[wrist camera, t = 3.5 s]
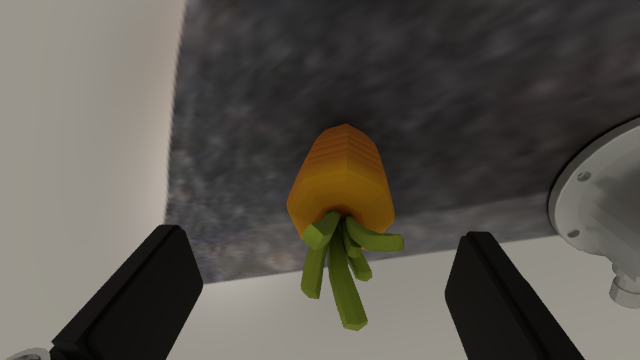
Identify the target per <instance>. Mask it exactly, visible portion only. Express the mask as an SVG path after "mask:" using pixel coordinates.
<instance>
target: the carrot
mask: <svg viewBox="0 0 640 360" xmlns="http://www.w3.org/2000/svg"><path fill="white" fill-rule="evenodd" d="M287 209H288V212H289V214H290V216H291V218H292V220H293V223H294V225H295V227H296V229H297V231H298V233H299V236H300V238H301V239H302V240H303V241H304V242H305V243H306V244H307V245H308V246H309V247H310V248H309V250H308V253H307V257H306V261H305V265H304V269H303V276H302V281H301V289H302V291H303V292H304V293H305V294H306V295H307V296H308V297H309V298H314V299H319V296H320V290H321V283H322V276H323V268H324V260H325V257H326V253H327V257H328V269H329V279H330V283H331V286H332V290H333V294H334V298H335V302H336V306H337V309H338V311H339V315H340V318H341V320H342V324H343V327H345V328H347V329H351V330H356V331H358V330H360V329H361V328H362V327H363V326H365V325H366V324H367V321H368V320H367V317H366V314H365V311H364V308H363V306H362V303H361V300H360V297H359V294H358V292H357V289H356V287H355V284H354V281H353V279H352V276H351V273H350V271H349V268H348V263H349V265H350V267H351V269H352V271H353V273H354V275H355V278H356V279H358V280H361V281H368V280H369V279H370V278H372V272H371V269H370V267H369V265H368V263H367V262H366V260H365V258H364V256H363V254H362V252H361V250H363V249H367V250H373V251H385V252H388V251H400V250H402V249H404V241H403V239H402V236H401V234H384V232H385V231H386V230H387V229H388V228H389V226H390V225H391V224H392V223H393V222H394V218H395V212H394V207H393V203H392V199H391V195H390V190H389V186H388V182H387V178H386V174H385V171H384V168H383V164H382V161H381V158H380V155H379V153H378V150H377V148H376V145H375V144H374V143H373V141H372V140H371V139H370V138H369V137H368V136H367V135H366V134H365V133H364V132H362V131H360V130H358V129H356V128H354V127H352V126H350V125H349V124H347V123H346V124H343V125H339V126H336V127H332V128H329V129H326V130H325V131H324V132H322V133H321V134H320V135H319V137H318V138H317V139H316V140H315V142H314V144H313V146H312V148H311V150H310V152H309V153H308V155H307V157H306V159H305V161H304V163H303V165H302V167H301V169H300V171H299V173H298V175H297V177H296V179H295V182H294V184H293V187H292V189H291V192H290V194H289V196H288V199H287ZM346 258H347V259H346ZM347 260H348V263H347Z"/></svg>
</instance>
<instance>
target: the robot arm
mask: <svg viewBox="0 0 640 360" xmlns="http://www.w3.org/2000/svg"><path fill="white" fill-rule="evenodd" d="M548 207H549V218H550V221H551V224H552V226H553V227H554V229H555V230H556V232H557V233H558V234H559V235H560V236H561V237H562V238H563V239H564V240H565V241H566V242H567V243H568V244H570V245H572V246H574V247H575V248H576V249H578V250H581V251H584V252H587V253H589V254H594V255H600V256H606V257H607V258H608V259H609V260H610V261H611V262H613V264H612V269H613V271H614V272H615V274H616V275H617V276H616V277H615V278H614V279H613V282H612V286H611V289H610V292H609V294H610V297H611V298H612V299H613V300H614V302H616V303H618V304H619V305H622V306H624V307H627V308H639V307H640V117H639V118H637V119H634V120H632V121H630V122H628V123H626V124H623V125H621V126H619V127H617V128H615V129H613V130H612V131H610V132H608V133H607V134H605V135H603V136H602V137H600V138H598V139H597V140H596V141H594V142H593V143H592V144H590V145H589V146H588V147H587V148H585V149H584V150H583V151H581V152H580V153H579V154H578V155H577V156H576V157H575V158H574V159H573V160H572V161H571V162H570V163H569V164H568V166H567V167H566V168H565V170H564V171H563V172H562V174H561V175H560V176H559V178H558V180H557V182H556V184H555V186H554V188H553V190H552V192H551V196H550V200H549V204H548ZM202 288H203V280H202V277H201V275H200V272H199V269H198V266H197V263H196V261H195V258H194V255H193V252H192V249H191V246H190V244H189V241H188V238H187V235H186V232H185V231H184V230H183V229H181V227H180V226H179V225H159V226H158V227H156V229H155V230H154V231H153V232H152V233H151V234H150V235H149V236H148V237H147V238H146V239H145V240H144V242H143V243H142V244H141V245H140V246H139V247H138V248H137V249H136V250H135V252H133V253H132V255H131V256H130V257H129V258H128V259H127V260H126V261H125V262H124V263H123V264H122V265H121V267H120V268H119V269H118V270H117V271H116V272H115V273H114V274H113V275H112V276H111V277H110V279H109V280H108V281H107V282H106V283H105V284H104V285H103V286H102V287H101V289H99V290H98V291H97V293H96V294H95V295H94V296H93V297H92V298H91V299H90V300H89V301H88V302H87V304H85V306H84V307H83V308H82V309H81V310H80V311H79V312H78V313H77V314H76V315H75V317H74V318H73V319H72V320H71V321H70V322H69V323H68V324H67V325H66V326H65V327H64V328H63V329H62V331H61V332H60V333H59V334H58V335H57V336H56V337H55V338H54V339H53V340H52V343H53V344H54V345H55V346H54V347H53V348H52V349H51V350H50V351H49V352H48V351H47V350H46V349H43V348H32V349H27V350H24V351H21V352H19V353H16V354H14V355H12V356H10V357H9V358H7V359H5V360H166V358H167V356H168V354H169V352H170V350H171V349H172V347H173V345H174V343H175V341H176V339H177V337H178V335H179V333H180V331H181V330H182V328H183V326H184V324H185V322H186V320H187V318H188V316H189V314H190V312H191V310H192V309H193V307H194V305H195V303H196V301H197V299H198V297H199V295H200V294H201V291H202ZM445 300H446V303H447V306H448V308H449V311H450V313H451V316H452V319H453V321H454V324H455V326H456V329H457V332H458V334H459V337H460V339H461V342H462V344H463V347H464V350H465V352H466V355H467V358H468V360H585V359H584V358H583V356H582V355H581V353H580V352H579V351H578V349H577V348H576V347H575V345H574V344H573V343H572V341H571V340H570V339H569V337H568V336H567V335H566V333H565V332H564V330H563V329H562V328H561V326H560V325H559V324H558V322H557V321H556V320H555V318H554V317H553V315H552V314H551V313H550V311H549V310H548V309H547V307H546V306H545V305H544V303H543V302H542V300H541V299H540V298H539V296H538V295H537V294H536V292H535V291H534V290H533V288H532V287H531V286H530V284H529V283H528V282H527V281H526V280H525V279H524V278H523V276H522V275H521V274H520V272H519V271H518V270H517V268H516V267H515V266H514V264H513V263H512V262H511V260H510V259H509V257H508V256H507V255H506V254H505V252H504V251H503V249H502V248H501V246H500V245H499V244H498V242H497V241H496V240H495V238H494V237H493V235H492V234H491V233H489V232H474V231H470V232H468V233H467V234H466V236H462V237H461V239H460V242H459V246H458V249H457V253H456V256H455V259H454V262H453V266H452V269H451V272H450V275H449V279H448V282H447V285H446V289H445Z"/></svg>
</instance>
